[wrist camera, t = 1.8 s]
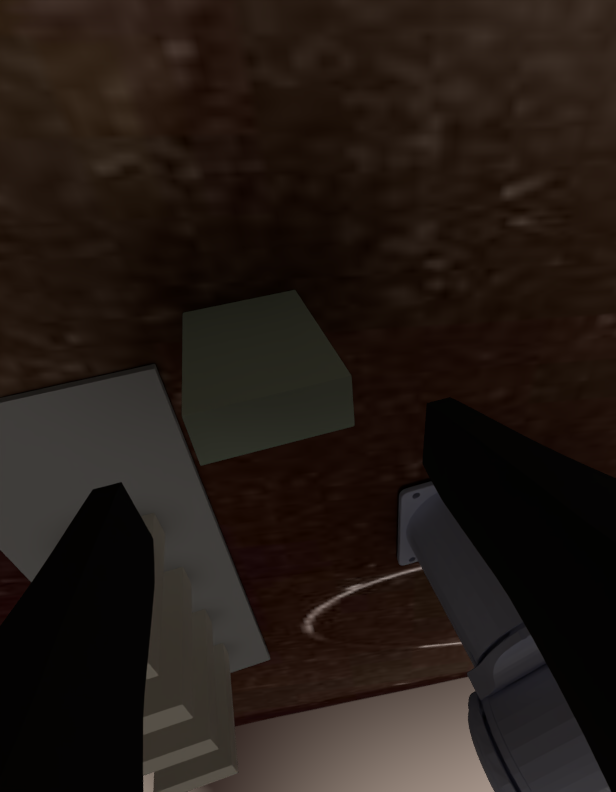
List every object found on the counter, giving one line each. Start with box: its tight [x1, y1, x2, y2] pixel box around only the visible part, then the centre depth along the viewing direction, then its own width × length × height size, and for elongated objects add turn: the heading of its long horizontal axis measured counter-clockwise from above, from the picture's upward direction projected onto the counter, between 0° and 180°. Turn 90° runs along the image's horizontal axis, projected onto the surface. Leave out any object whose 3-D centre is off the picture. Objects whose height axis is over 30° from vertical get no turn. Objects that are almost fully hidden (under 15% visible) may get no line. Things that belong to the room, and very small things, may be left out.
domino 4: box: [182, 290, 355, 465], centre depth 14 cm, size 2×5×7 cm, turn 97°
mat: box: [0, 364, 270, 673], centre depth 24 cm, size 10×28×1 cm, turn 7°
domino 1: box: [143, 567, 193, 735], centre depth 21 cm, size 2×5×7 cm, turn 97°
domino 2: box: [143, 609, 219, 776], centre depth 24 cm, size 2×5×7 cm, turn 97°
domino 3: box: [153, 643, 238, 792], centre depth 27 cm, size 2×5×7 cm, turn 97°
